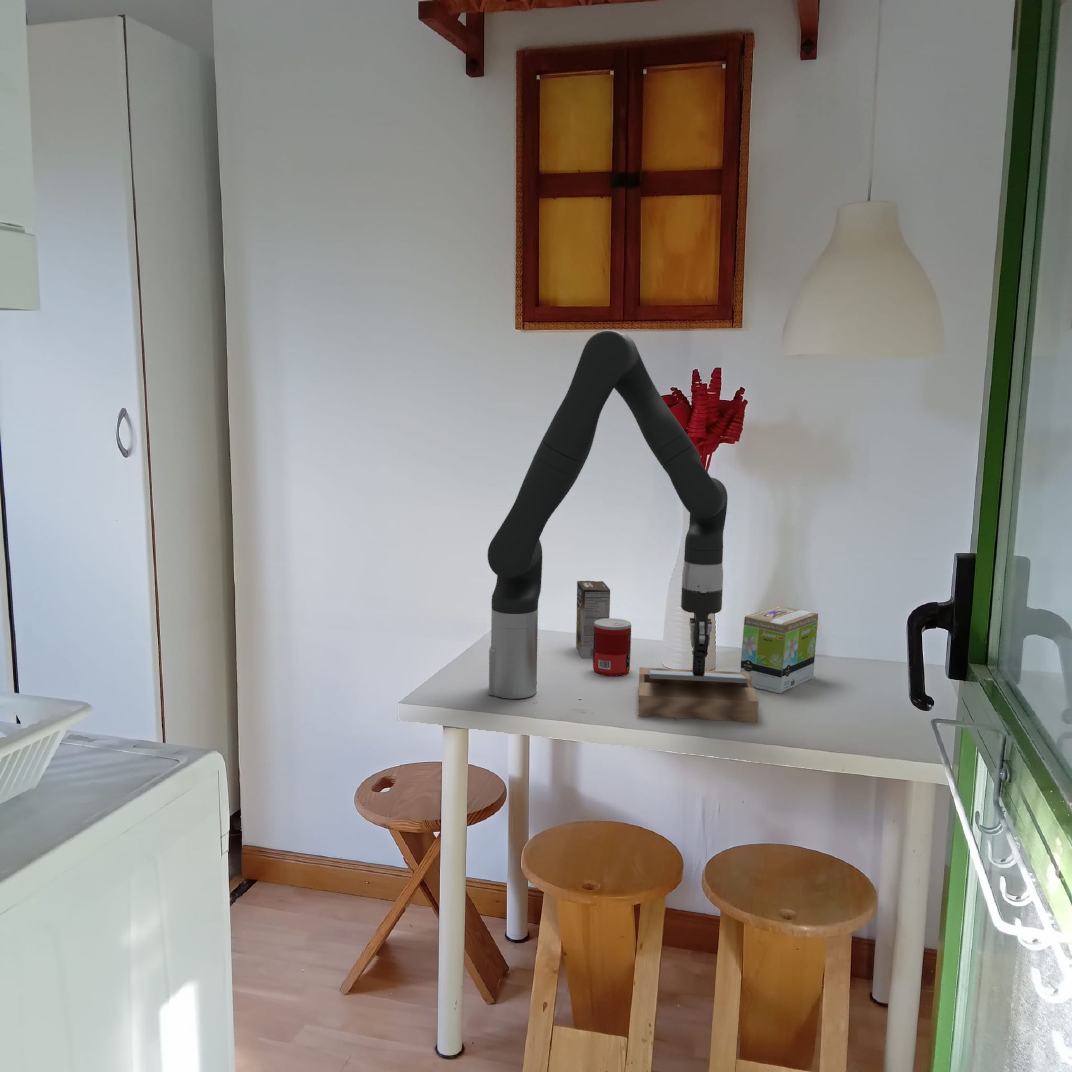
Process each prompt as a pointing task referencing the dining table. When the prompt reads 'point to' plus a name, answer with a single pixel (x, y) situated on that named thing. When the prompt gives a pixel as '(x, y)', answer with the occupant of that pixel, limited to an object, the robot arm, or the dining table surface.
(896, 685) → the dining table surface
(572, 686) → the dining table surface
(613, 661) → the canned food
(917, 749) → the dining table surface
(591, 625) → the coffee box
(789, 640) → the tea box
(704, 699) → the wooden tray
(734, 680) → the cover
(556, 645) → the dining table surface
